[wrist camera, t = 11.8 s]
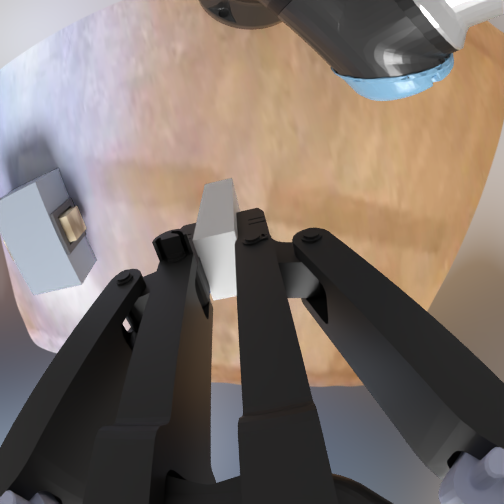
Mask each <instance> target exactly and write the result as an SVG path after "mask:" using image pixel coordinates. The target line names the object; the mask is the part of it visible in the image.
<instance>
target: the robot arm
mask: <svg viewBox="0 0 504 504" xmlns="http://www.w3.org/2000/svg"><path fill="white" fill-rule="evenodd" d="M199 2H200V4H201V6H202V7H203V9H204V10H205V11H206V12H207V13H208V14H209V15H210V16H211V17H213V18H214V19H215V20H217V21H219V22H221V23H223V24H225V25H228V26H231V27H235V28H240V29H262V28H267V27H271V26H274V25H276V24H278V23H280V22H282V21H283V22H284V23H285V24H286V25H287V26H289V27H290V28H291V29H292V30H293V31H294V32H295V33H297V34H298V35H299V36H300V37H301V38H302V39H303V40H304V41H305V42H306V43H307V44H308V45H310V46H311V47H312V48H313V49H314V50H315V51H316V52H317V53H318V54H319V55H320V56H321V57H322V58H323V59H324V60H325V61H326V62H327V63H328V64H329V65H330V66H331V70H332V71H333V72H334V73H335V74H336V75H337V76H339V77H341V78H342V79H344V80H345V81H346V82H347V83H348V84H349V85H350V86H351V87H352V89H353V90H354V91H355V92H357V93H358V94H359V95H361V96H364V97H365V98H368V99H371V100H376V101H390V100H396V99H401V98H405V97H409V96H412V95H415V94H417V93H420V92H422V91H424V90H426V89H428V88H430V87H432V86H433V82H436V81H441V80H442V79H444V78H445V77H446V76H447V75H448V74H449V73H450V71H451V69H452V68H453V64H454V58H453V52H456V51H458V50H460V49H462V48H463V47H464V42H465V38H466V33H467V31H468V29H469V27H471V26H474V25H476V24H479V23H482V22H484V21H487V20H490V19H492V18H495V17H498V16H501V15H504V0H199ZM292 241H293V242H278V241H275V240H273V239H272V238H271V236H270V234H269V230H268V226H267V223H266V219H265V215H264V212H263V211H262V210H260V209H259V208H255V209H250V210H246V211H241V212H240V208H239V204H238V200H237V196H236V192H235V188H234V184H233V180H232V178H230V179H225V180H221V181H217V182H213V183H209V184H205V187H204V191H203V195H202V200H201V204H200V208H199V213H198V218H197V222H196V223H193V224H189V225H185V226H183V227H182V228H181V229H175V230H170V231H167V232H165V233H163V234H161V235H159V236H158V237H156V238H155V239H154V240H153V242H152V243H153V245H154V248H155V250H156V253H157V255H158V258H159V260H160V262H159V265H158V268H157V271H156V272H154V273H152V274H149V275H147V276H144V277H143V276H142V274H141V272H140V271H139V270H138V269H130V270H124V271H122V272H120V273H119V274H118V275H116V276H115V277H114V278H113V279H112V280H111V281H110V282H109V284H108V285H107V286H106V288H105V289H104V290H103V291H102V293H101V294H100V295H99V297H98V298H97V299H96V301H95V302H94V303H93V304H92V306H91V307H90V308H89V310H88V311H87V313H86V314H85V315H84V317H83V318H82V319H81V321H80V322H79V323H78V325H77V326H76V328H75V329H74V330H73V332H72V333H71V335H70V336H69V337H68V339H67V340H66V342H65V343H64V345H63V346H62V347H61V349H60V350H59V352H58V353H57V355H56V356H55V358H54V359H53V361H52V362H51V364H50V365H49V367H48V368H47V370H46V371H45V373H44V374H43V376H42V377H41V379H40V380H39V382H38V384H37V385H36V387H35V388H34V390H33V392H32V393H31V395H30V396H29V398H28V400H27V402H26V403H25V405H24V406H23V408H22V410H21V412H20V413H19V415H18V417H17V418H16V420H15V422H14V423H13V425H12V427H11V429H10V431H9V433H8V434H7V436H6V438H5V440H4V442H3V444H2V445H1V447H0V504H393V503H391V502H390V501H388V500H386V499H385V498H383V497H381V496H380V495H378V494H377V493H375V492H374V491H372V490H370V489H369V488H367V487H366V486H364V485H362V484H361V483H359V482H356V481H354V480H352V479H349V478H347V477H344V476H341V475H336V474H332V473H331V468H330V464H329V459H328V455H327V451H326V446H325V442H324V438H323V433H322V429H321V425H320V421H319V417H318V413H317V409H316V406H315V404H314V402H313V399H312V395H311V391H310V387H309V383H308V379H307V374H306V370H305V366H304V362H303V358H302V354H301V350H300V346H299V342H298V338H297V334H296V330H295V326H294V322H293V318H292V314H291V310H290V306H289V302H288V299H287V298H301V299H302V302H303V304H304V306H305V307H306V308H307V310H308V311H309V312H310V314H311V315H312V316H313V317H314V319H315V320H316V321H317V323H318V324H319V325H320V327H321V328H322V329H323V331H324V332H325V333H326V335H327V336H328V337H329V339H330V340H331V341H332V343H333V344H334V345H335V347H336V348H337V349H338V351H339V352H340V353H341V355H342V356H343V357H344V359H345V360H346V361H347V363H348V364H349V365H350V367H351V368H352V369H353V371H354V372H355V373H356V375H357V376H358V377H359V379H360V380H361V381H362V383H363V384H364V385H365V387H366V388H367V389H368V391H369V392H370V393H371V395H372V396H373V397H374V398H375V400H376V401H377V403H378V404H379V405H380V407H381V408H382V409H383V411H384V412H385V413H386V415H387V416H388V417H389V419H390V420H391V421H392V423H393V424H394V425H395V427H396V428H397V429H398V431H399V432H400V434H401V435H402V436H403V438H404V439H405V440H406V442H407V443H408V444H409V446H410V447H411V448H412V450H413V451H414V453H415V454H416V455H417V456H418V457H419V459H420V460H421V461H422V462H423V463H424V464H425V466H426V467H427V468H428V469H430V470H431V471H432V472H433V473H434V474H435V475H436V476H437V477H438V478H440V479H441V480H443V481H442V482H441V485H440V489H439V501H440V503H441V504H504V383H503V382H502V381H501V380H500V379H499V378H498V377H497V376H496V375H495V374H494V373H493V372H492V371H491V370H490V369H489V368H488V367H487V366H486V365H485V364H484V363H483V362H482V361H480V360H479V359H478V358H477V357H476V356H475V355H474V354H473V353H472V352H471V351H470V350H469V349H468V348H467V347H466V346H464V345H463V344H462V343H461V342H460V341H459V340H458V339H457V338H456V337H455V336H454V335H452V333H450V332H449V331H448V330H447V329H446V328H445V327H444V326H443V325H441V324H440V323H439V322H438V321H437V320H436V319H435V318H434V317H433V316H431V315H430V314H429V313H428V312H427V311H426V310H425V309H423V308H422V307H421V306H420V305H419V304H418V303H416V302H415V301H414V300H413V299H412V298H411V297H409V296H408V295H407V294H406V293H405V292H403V291H402V290H401V289H400V288H399V287H398V286H396V285H395V284H394V283H393V282H392V281H390V280H389V279H388V278H387V277H385V276H384V275H383V274H382V273H381V272H379V271H378V270H377V269H376V268H374V267H373V266H372V265H371V264H370V263H368V262H367V261H366V260H365V259H363V258H362V257H361V256H360V255H358V254H357V253H356V252H354V251H353V250H352V249H351V248H349V247H348V246H347V245H346V244H344V243H343V242H342V241H340V240H339V239H338V238H337V237H335V236H334V235H333V234H331V233H330V232H329V231H327V230H325V229H320V228H308V229H305V230H302V231H300V232H298V233H296V234H295V235H294V236H293V239H292ZM210 292H211V295H212V298H213V300H219V299H224V298H229V297H234V296H237V310H238V330H239V348H240V366H241V384H242V400H243V416H242V417H240V418H239V422H238V442H239V461H240V476H238V477H234V478H231V479H228V480H225V481H222V482H219V483H216V480H215V477H214V475H213V472H212V469H211V456H210V455H211V449H210V448H211V447H210V446H211V436H210V433H211V432H210V431H211V430H210V427H211V425H210V424H211V422H210V421H211V420H210V419H211V418H210V417H211V358H212V325H213V306H212V303H211V301H210V298H209V296H210ZM125 318H126V319H127V321H128V322H129V324H130V326H131V328H130V329H129V331H126V329H125V328H124V326H123V321H124V320H125Z"/></svg>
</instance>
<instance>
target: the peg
mask: <svg viewBox="0 0 504 504" xmlns="http://www.w3.org/2000/svg"><path fill="white" fill-rule="evenodd" d="M58 219H59V221H60V223H61V226H62V228H63V230H64V232H65V235H66V237H67V239H68V241H69V242H72V241H76V240H77V239H78V238H79V237H80V236H81V234H82V233H83V232H84V231H85V230H86V229H87V228H86V226H85V223H84V221H83V218H82V216H81V214H80V211H79V209H78V206H75V207H72V208H69V209H67V210H65V211H64V212H63V213H61V214H60V215H59V216H58ZM4 243H5V241H4ZM5 245H6V243H5ZM6 247H7V245H6ZM7 249H8V248H7ZM8 251H9V250H8ZM9 253H10V252H9ZM10 255H11V254H10ZM11 257H12V256H11ZM12 259H13V257H12ZM13 261H14V259H13Z"/></svg>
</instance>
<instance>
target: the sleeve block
mask: <svg viewBox="0 0 504 504" xmlns="http://www.w3.org/2000/svg"><path fill="white" fill-rule="evenodd" d="M72 207H75V206H74V204H73V201H72V199H71V198H69V196H68V193H67V190H66V188H65V185H64V182H63V180H62V177H61V174H60V171H59V168H57V169H55V170H53V171H51V172H49V173H46V174H44V175H42V176H40V177H38V178H36V179H34V180H32V181H30V182H28V183H26V184H24V185H22V186H20V187H18V188H16V189H14V190H12V191H11V192H9V193H8V194H6V195H5V196H3V197H2V198H0V233H1V235H2V237H3V239H4V241H5V243H6V245H7V248H8V250H9V252H10V254H11V256H12V257H13V259H14V261H15V263H16V265H17V267H18V269H19V271H20V273H21V274H22V276H23V278H24V280H25V282H26V283H27V285H28V287H29V288H30V290H31V292H32V294H33V295H38V294H42V293H47V292H51V291H55V290H60V289H64V288H69V287H73V286H77V285H82V283H83V282H84V280H85V278H86V277H87V275H88V273H89V272H90V270H91V269H92V267H93V265H94V264H95V262H96V261H97V260H96V258H95V256H94V254H93V252H92V250H91V247H90V245H89V243H88V241H87V239H86V236H85V235H86V233H85V231H84V232H83V233H82V234H81V236H80V237H79V238H78V239H77V240H76V241H72V242H69V241H68V239H67V237H66V235H65V232H64V230H63V228H62V226H61V223H60V221H59V219H58V216H59V215H60V214H61V213H63V212H64V211H65V210H67V209H69V208H72Z"/></svg>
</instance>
